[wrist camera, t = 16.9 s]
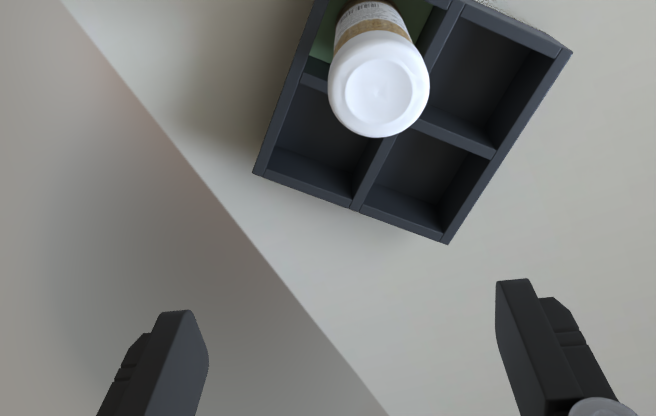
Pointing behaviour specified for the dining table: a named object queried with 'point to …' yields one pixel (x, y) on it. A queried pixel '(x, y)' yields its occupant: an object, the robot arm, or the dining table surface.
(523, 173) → the dining table surface
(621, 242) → the dining table surface
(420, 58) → the sprinkles bottle
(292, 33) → the dining table surface
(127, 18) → the dining table surface
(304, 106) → the divided storage tray
